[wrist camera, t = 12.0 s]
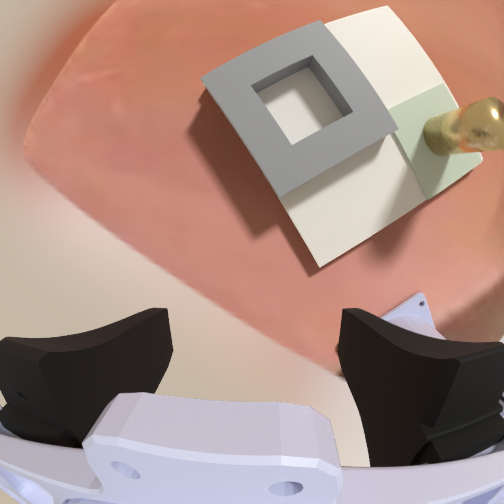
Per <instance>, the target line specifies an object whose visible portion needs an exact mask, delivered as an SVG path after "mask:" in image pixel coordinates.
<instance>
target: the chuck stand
mask: <svg viewBox="0 0 504 504" xmlns="http://www.w3.org/2000/svg"><path fill="white" fill-rule="evenodd" d="M200 79H201V80H202V82H203V84H204V86H205V88H206V89H207V90H208V92H209V93H210V95H211V96H212V98H213V99H214V100H215V102H216V103H217V105H218V106H219V108H220V109H221V111H222V112H223V114H224V115H225V117H226V118H227V119H228V121H229V122H230V124H231V125H232V127H233V128H234V130H235V131H236V133H237V134H238V136H239V137H240V139H241V140H242V142H243V143H244V145H245V146H246V148H247V150H248V151H249V153H250V154H251V156H252V157H253V159H254V160H255V162H256V163H257V165H258V167H259V168H260V170H261V171H262V173H263V174H264V176H265V178H266V179H267V181H268V182H269V184H270V186H271V187H272V189H273V190H274V192H275V194H276V195H277V197H278V199H279V200H280V202H281V203H282V205H283V207H284V208H285V210H286V212H287V213H288V215H289V217H290V218H291V220H292V222H293V223H294V225H295V227H296V228H297V230H298V232H299V233H300V235H301V237H302V239H303V240H304V242H305V244H306V245H307V247H308V249H309V251H310V252H311V254H312V256H313V258H314V259H315V261H316V263H317V264H318V266H319V267H321V266H323V265H325V264H326V263H328V262H330V261H331V260H333V259H335V258H336V257H338V256H340V255H341V254H343V253H345V252H346V251H348V250H349V249H351V248H353V247H354V246H356V245H358V244H359V243H361V242H362V241H364V240H366V239H367V238H369V237H370V236H372V235H373V234H375V233H377V232H378V231H380V230H381V229H383V228H384V227H386V226H388V225H389V224H391V223H392V222H394V221H395V220H397V219H398V218H400V217H401V216H403V215H404V214H406V213H407V212H409V211H410V210H412V209H413V208H415V207H416V206H418V205H419V204H421V203H422V202H424V201H425V200H429V199H431V198H432V197H434V196H435V195H436V194H438V193H439V192H441V191H442V190H444V189H445V188H447V187H448V186H449V185H451V184H452V183H454V182H455V181H456V180H458V179H459V178H461V177H462V176H463V175H465V174H466V173H468V172H469V171H470V170H472V169H473V168H474V167H476V166H477V165H478V164H480V163H481V162H482V160H483V158H482V155H481V153H480V152H473V153H464V154H456V155H448V156H439V155H436V154H435V153H433V152H432V151H431V150H430V149H429V147H428V146H427V144H426V142H425V139H424V134H423V129H424V125H425V123H426V121H427V120H428V119H430V118H432V117H435V116H437V115H440V114H443V113H446V112H448V111H451V110H454V109H457V108H459V106H458V104H457V102H456V101H455V99H454V97H453V95H452V94H451V92H450V90H449V88H448V87H447V85H446V83H445V82H444V80H443V78H442V77H441V75H440V74H439V72H438V70H437V69H436V67H435V66H434V64H433V63H432V61H431V60H430V58H429V57H428V56H427V54H426V53H425V51H424V50H423V49H422V47H421V46H420V44H419V43H418V42H417V40H416V39H415V38H414V36H413V35H412V34H411V33H410V31H409V30H408V29H407V28H406V26H405V25H404V24H403V23H402V22H401V20H400V19H399V18H398V17H397V16H396V14H395V13H394V12H393V11H392V10H391V9H390V8H389V7H388V6H384V7H380V8H376V9H372V10H368V11H364V12H361V13H357V14H354V15H350V16H347V17H344V18H341V19H338V20H335V21H332V22H329V23H326V24H323V23H322V22H321V21H320V20H319V21H316V22H313V23H311V24H308V25H305V26H303V27H300V28H298V29H295V30H293V31H290V32H288V33H286V34H283V35H281V36H279V37H277V38H274V39H272V40H270V41H268V42H266V43H263V44H261V45H259V46H257V47H255V48H253V49H251V50H249V51H247V52H245V53H243V54H241V55H239V56H238V57H236V58H234V59H232V60H230V61H228V62H227V63H225V64H223V65H221V66H219V67H218V68H216V69H214V70H213V71H211V72H209V73H207V74H206V75H204V76H203V77H201V78H200Z"/></svg>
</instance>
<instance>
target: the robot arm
mask: <svg viewBox="0 0 504 504" xmlns="http://www.w3.org/2000/svg"><path fill="white" fill-rule="evenodd" d="M421 301H422V304H421V305H419V304H420V302H421ZM172 353H173V345H172V339H171V332H170V325H169V318H168V310H167V309H166V308H150V309H147V310H144V311H142V312H139V313H137V314H134V315H132V316H129V317H127V318H125V319H122V320H120V321H117V322H114V323H112V324H109V325H106V326H104V327H101V328H98V329H94V330H91V331H87V332H83V333H79V334H73V335H67V336H60V337H53V338H52V337H51V338H19V337H5V338H4V339H2V340H1V341H0V390H1V392H2V394H3V396H4V398H5V400H6V402H7V404H6V405H5V406H4V407H3V408H2V407H1V406H0V489H2V490H3V491H4V492H5V493H7V494H8V495H9V496H11V497H12V498H13V499H15V500H16V501H17V502H19V503H20V504H504V344H503V343H502V342H479V343H473V342H458V341H450V340H446V339H445V338H444V337H443V336H442V335H441V334H440V333H439V332H438V331H437V330H436V329H435V326H434V323H433V319H432V316H431V313H430V310H429V307H428V304H427V301H426V298H425V295H424V294H423V293H421V292H418V293H416V294H415V295H413V296H412V297H410V298H409V299H407V300H406V301H404V302H403V303H401V304H400V305H398V306H397V307H395V308H394V309H392V310H391V311H389V312H388V313H386V314H385V315H383V316H381V317H380V318H379V317H377V316H375V315H373V314H371V313H369V312H366V311H364V310H362V309H359V308H347V309H343V310H342V319H341V328H340V336H339V344H338V356H339V360H340V364H341V368H342V371H343V374H344V376H345V379H346V381H347V384H348V386H349V388H350V391H351V393H352V395H353V398H354V400H355V402H356V405H357V408H358V411H359V414H360V417H361V421H362V425H363V429H364V433H365V438H366V443H367V448H368V454H369V459H370V467H348V466H341V464H340V460H339V456H338V451H337V447H336V443H335V439H334V434H333V430H332V426H331V422H330V420H329V419H328V418H326V417H325V416H323V415H322V414H320V413H319V412H318V411H316V410H314V409H313V408H312V407H310V406H303V405H296V404H289V403H283V402H241V401H239V402H238V401H219V400H204V399H192V398H182V397H173V396H165V395H157V394H154V393H155V392H156V390H157V388H158V386H159V384H160V382H161V380H162V378H163V376H164V374H165V372H166V370H167V368H168V365H169V362H170V359H171V356H172Z"/></svg>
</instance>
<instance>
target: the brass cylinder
mask: <svg viewBox="0 0 504 504" xmlns="http://www.w3.org/2000/svg"><path fill="white" fill-rule="evenodd" d="M423 134H424V139H425V142H426V144H427V146H428V147H429V149H430V150H431V151H432V152H433V153H435V154H436V155H439V156H448V155H456V154H464V153H473V152H483V151H494V150H504V104H503V102H501V101H500V100H499V99H497V98H495V97H489V98H486V99H483V100H480V101H477V102H474V103H471V104H468V105H465V106H462V107H460V108H457V109H454V110H451V111H448V112H446V113H443V114H440V115H437V116H435V117H432V118H430V119H428V120H427V121H426V123H425V125H424V129H423Z"/></svg>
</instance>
